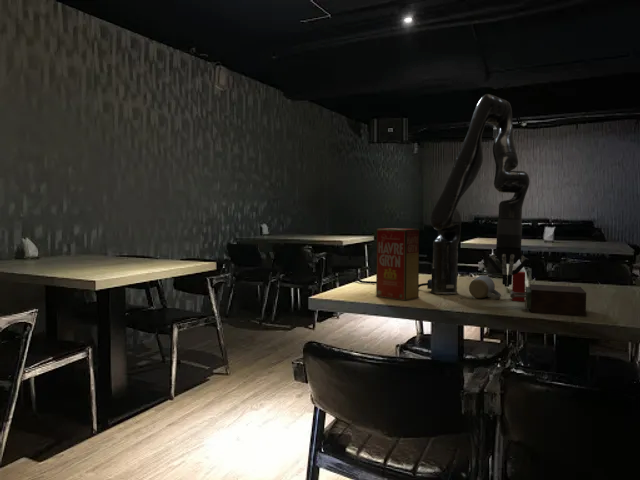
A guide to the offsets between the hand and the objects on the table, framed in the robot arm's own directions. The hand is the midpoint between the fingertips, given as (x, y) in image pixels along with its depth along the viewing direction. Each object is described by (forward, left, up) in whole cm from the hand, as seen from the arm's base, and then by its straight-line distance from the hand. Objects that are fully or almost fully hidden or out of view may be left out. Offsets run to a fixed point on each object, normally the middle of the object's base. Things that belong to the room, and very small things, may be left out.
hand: (506, 286), depth 159 cm
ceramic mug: (-7, +17, -7) cm, 20 cm away
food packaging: (-37, +6, -7) cm, 39 cm away
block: (+4, +16, -7) cm, 18 cm away
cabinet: (+15, +1, -7) cm, 16 cm away
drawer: (+11, +1, -6) cm, 12 cm away
